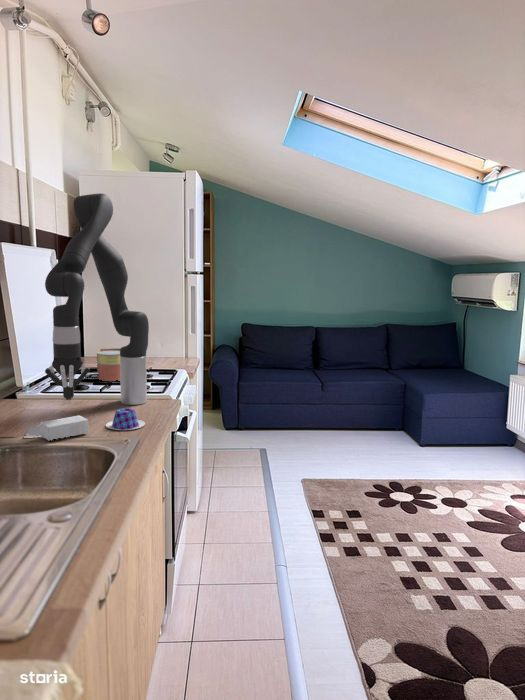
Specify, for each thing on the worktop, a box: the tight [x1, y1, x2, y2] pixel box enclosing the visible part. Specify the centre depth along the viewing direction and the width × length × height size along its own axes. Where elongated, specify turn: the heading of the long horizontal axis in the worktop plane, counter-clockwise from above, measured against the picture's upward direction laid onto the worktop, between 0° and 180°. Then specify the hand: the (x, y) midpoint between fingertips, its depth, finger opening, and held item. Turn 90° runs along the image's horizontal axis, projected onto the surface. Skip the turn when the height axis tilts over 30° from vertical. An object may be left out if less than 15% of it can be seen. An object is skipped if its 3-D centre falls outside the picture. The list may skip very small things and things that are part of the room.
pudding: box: [105, 407, 146, 431], centre depth 171 cm, size 12×12×5 cm
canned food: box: [97, 350, 120, 381], centre depth 237 cm, size 11×11×12 cm
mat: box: [24, 426, 41, 436], centre depth 163 cm, size 10×14×1 cm
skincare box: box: [39, 414, 89, 442], centre depth 159 cm, size 6×4×12 cm
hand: (68, 399), depth 162 cm, fingers closed
